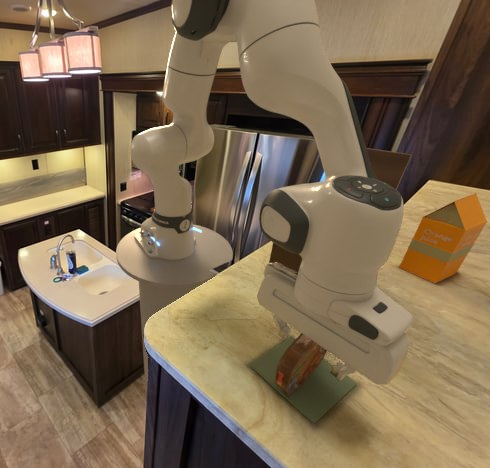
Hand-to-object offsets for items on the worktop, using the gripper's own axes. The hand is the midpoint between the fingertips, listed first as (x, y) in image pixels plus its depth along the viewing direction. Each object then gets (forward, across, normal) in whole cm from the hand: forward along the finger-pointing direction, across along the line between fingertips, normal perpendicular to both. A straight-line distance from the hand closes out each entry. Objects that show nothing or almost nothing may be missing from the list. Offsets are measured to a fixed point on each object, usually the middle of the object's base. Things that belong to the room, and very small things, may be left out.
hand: (307, 353), depth 48 cm
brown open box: (+6, -16, +30) cm, 34 cm away
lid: (-14, -16, +40) cm, 45 cm away
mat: (+6, 0, 0) cm, 6 cm away
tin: (+5, 0, 0) cm, 5 cm away
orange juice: (+6, -1, +53) cm, 53 cm away
